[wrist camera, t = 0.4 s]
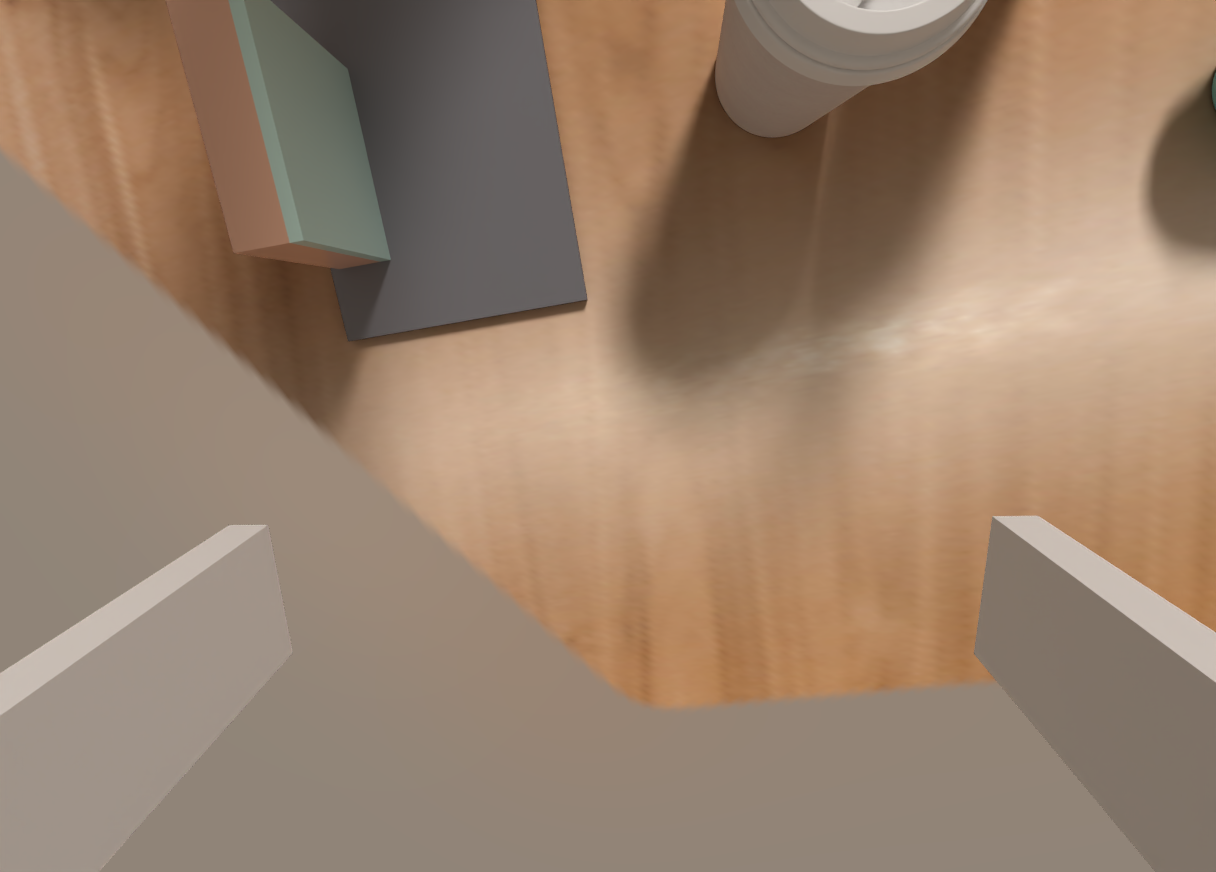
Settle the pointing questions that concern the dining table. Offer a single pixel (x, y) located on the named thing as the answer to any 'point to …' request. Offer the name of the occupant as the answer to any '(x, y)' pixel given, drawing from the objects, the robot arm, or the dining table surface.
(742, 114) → the coffee cup
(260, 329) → the dining table surface
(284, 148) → the tile
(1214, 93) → the cupcake
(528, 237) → the mat
